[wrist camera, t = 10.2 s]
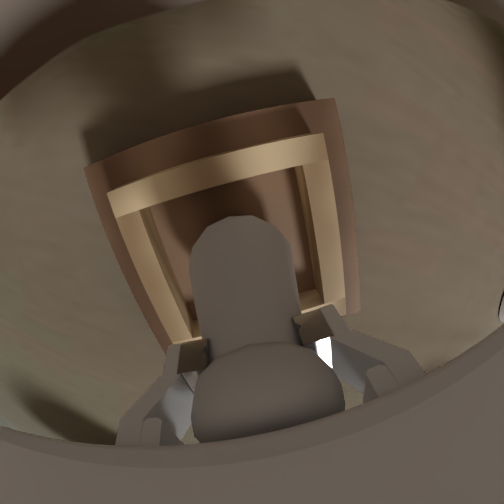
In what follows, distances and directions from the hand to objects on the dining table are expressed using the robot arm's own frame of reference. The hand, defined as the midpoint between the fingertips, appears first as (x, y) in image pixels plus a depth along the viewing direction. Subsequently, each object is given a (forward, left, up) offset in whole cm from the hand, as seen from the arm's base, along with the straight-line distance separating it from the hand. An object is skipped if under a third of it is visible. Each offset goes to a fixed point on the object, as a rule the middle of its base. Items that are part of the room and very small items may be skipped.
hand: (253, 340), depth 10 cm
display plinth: (0, 0, -12) cm, 12 cm away
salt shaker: (0, 0, -9) cm, 9 cm away
